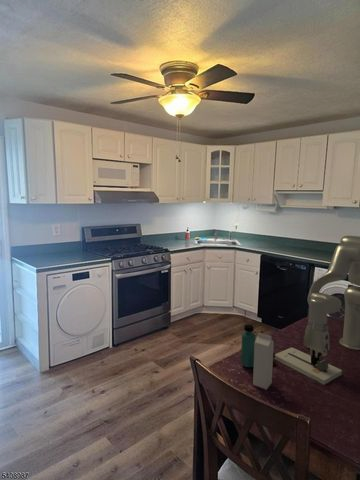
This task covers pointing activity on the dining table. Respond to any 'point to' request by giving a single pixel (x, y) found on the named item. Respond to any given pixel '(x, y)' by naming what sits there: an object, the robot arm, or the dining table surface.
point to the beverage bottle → (248, 346)
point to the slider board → (307, 365)
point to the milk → (263, 361)
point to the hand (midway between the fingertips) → (314, 363)
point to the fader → (322, 364)
